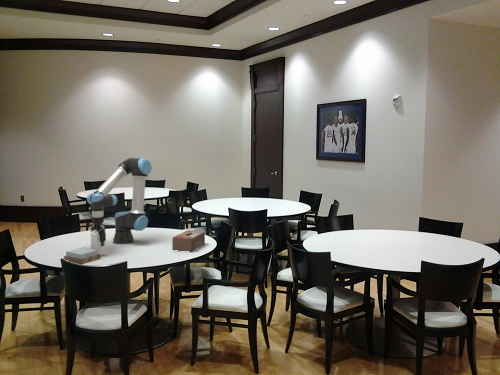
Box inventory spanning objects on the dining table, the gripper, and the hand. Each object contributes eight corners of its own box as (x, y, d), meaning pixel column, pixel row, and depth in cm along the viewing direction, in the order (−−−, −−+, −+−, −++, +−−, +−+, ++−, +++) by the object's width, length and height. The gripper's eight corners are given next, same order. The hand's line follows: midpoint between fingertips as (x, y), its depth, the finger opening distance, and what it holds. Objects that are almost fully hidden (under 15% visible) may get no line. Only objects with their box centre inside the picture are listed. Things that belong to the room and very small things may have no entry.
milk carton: (100, 252, 320) (99, 226, 318) (106, 254, 316) (105, 227, 314) (91, 254, 315) (90, 227, 313) (97, 256, 310) (96, 229, 308)
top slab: (83, 251, 312) (83, 247, 312) (98, 254, 305) (97, 249, 305) (66, 256, 300) (66, 251, 299) (80, 259, 293) (80, 254, 293)
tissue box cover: (191, 252, 325) (191, 238, 324) (172, 251, 329) (172, 237, 328) (204, 244, 350) (204, 231, 348) (187, 243, 354) (187, 230, 352)
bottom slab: (83, 255, 314) (83, 250, 313) (100, 258, 306) (100, 254, 305) (64, 260, 300) (63, 256, 299) (80, 264, 292) (80, 259, 292)
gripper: (84, 215, 316) (85, 248, 318) (101, 219, 303) (102, 253, 306) (94, 214, 322) (95, 246, 324) (111, 217, 309) (111, 251, 311)
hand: (98, 249), depth 315 cm, fingers closed on milk carton, 7 cm apart
